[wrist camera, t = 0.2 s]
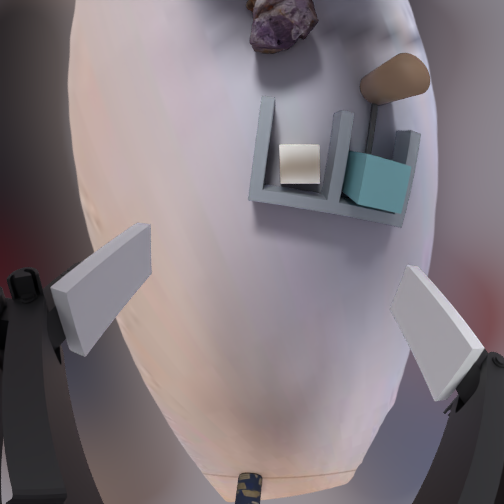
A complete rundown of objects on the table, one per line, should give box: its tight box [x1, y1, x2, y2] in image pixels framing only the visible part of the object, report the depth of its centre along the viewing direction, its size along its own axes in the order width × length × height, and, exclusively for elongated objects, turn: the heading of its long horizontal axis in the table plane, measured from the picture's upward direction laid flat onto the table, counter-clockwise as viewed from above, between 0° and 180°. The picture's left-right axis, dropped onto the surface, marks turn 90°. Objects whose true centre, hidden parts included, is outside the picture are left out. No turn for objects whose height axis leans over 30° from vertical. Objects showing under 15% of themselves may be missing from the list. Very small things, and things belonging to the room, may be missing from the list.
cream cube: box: [279, 144, 320, 184], centre depth 34 cm, size 5×5×5 cm
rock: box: [246, 0, 318, 54], centre depth 25 cm, size 12×9×10 cm
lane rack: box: [248, 96, 421, 228], centre depth 34 cm, size 14×22×5 cm, turn 83°
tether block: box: [341, 53, 430, 214], centre depth 28 cm, size 19×6×12 cm, turn 173°
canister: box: [235, 473, 262, 504], centre depth 73 cm, size 10×10×18 cm
